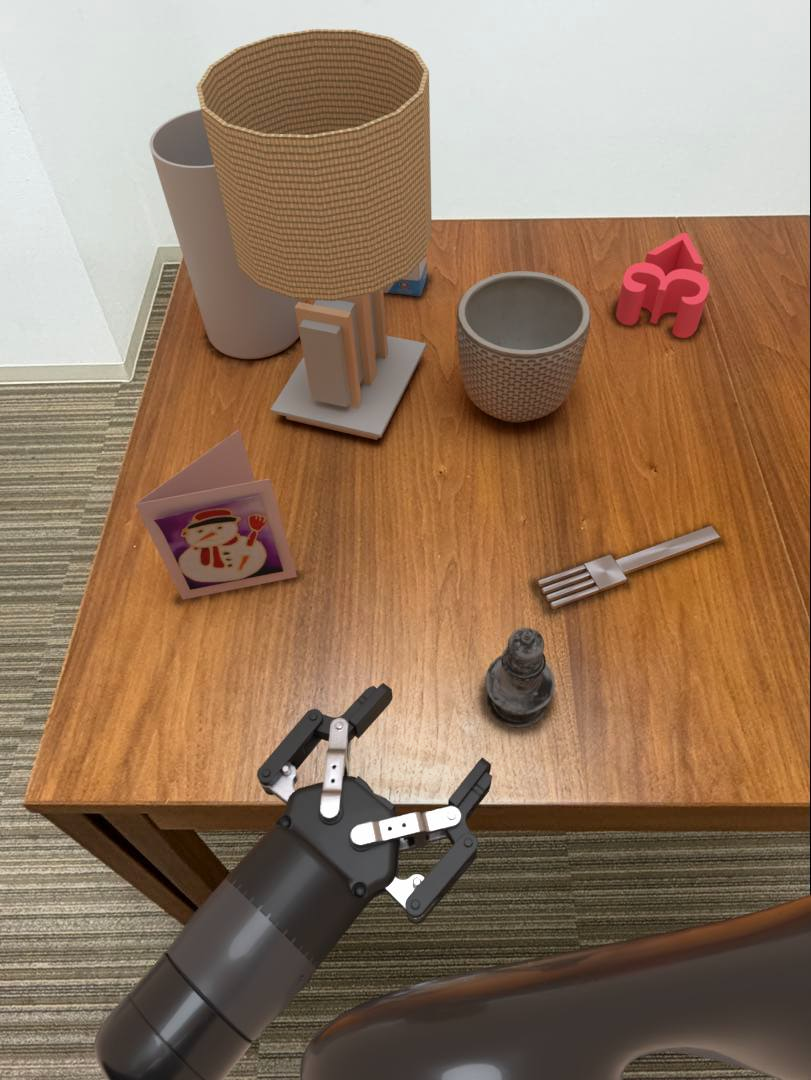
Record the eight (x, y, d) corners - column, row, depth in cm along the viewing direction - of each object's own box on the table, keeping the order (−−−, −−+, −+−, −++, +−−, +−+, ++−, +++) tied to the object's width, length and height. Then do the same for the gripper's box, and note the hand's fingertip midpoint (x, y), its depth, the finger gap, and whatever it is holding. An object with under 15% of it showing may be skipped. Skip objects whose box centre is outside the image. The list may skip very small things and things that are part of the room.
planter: (596, 387, 94) (614, 295, 83) (540, 463, 87) (552, 373, 77) (493, 347, 99) (498, 255, 88) (432, 416, 92) (430, 325, 82)
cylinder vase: (319, 306, 105) (288, 112, 85) (284, 369, 98) (241, 174, 78) (232, 293, 108) (182, 101, 87) (192, 353, 101) (127, 160, 80)
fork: (705, 523, 81) (706, 519, 81) (723, 547, 80) (725, 542, 79) (537, 583, 78) (537, 580, 77) (552, 609, 76) (553, 606, 76)
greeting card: (182, 606, 78) (134, 512, 66) (179, 547, 83) (133, 448, 70) (298, 583, 79) (271, 486, 67) (288, 526, 84) (262, 424, 72)
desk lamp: (310, 324, 103) (258, 19, 74) (455, 353, 98) (458, 40, 70) (242, 429, 92) (152, 120, 64) (402, 467, 88) (380, 153, 59)
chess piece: (477, 676, 72) (481, 606, 63) (539, 664, 73) (554, 593, 63) (492, 736, 69) (500, 673, 59) (558, 724, 69) (576, 659, 60)
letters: (639, 258, 108) (647, 225, 104) (716, 275, 105) (727, 241, 101) (611, 321, 101) (618, 288, 97) (692, 340, 98) (702, 307, 94)
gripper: (349, 1008, 41) (527, 770, 49) (170, 831, 47) (353, 642, 54) (361, 1023, 47) (517, 809, 55) (201, 865, 53) (362, 690, 60)
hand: (435, 726), depth 54 cm, fingers open, 8 cm apart
